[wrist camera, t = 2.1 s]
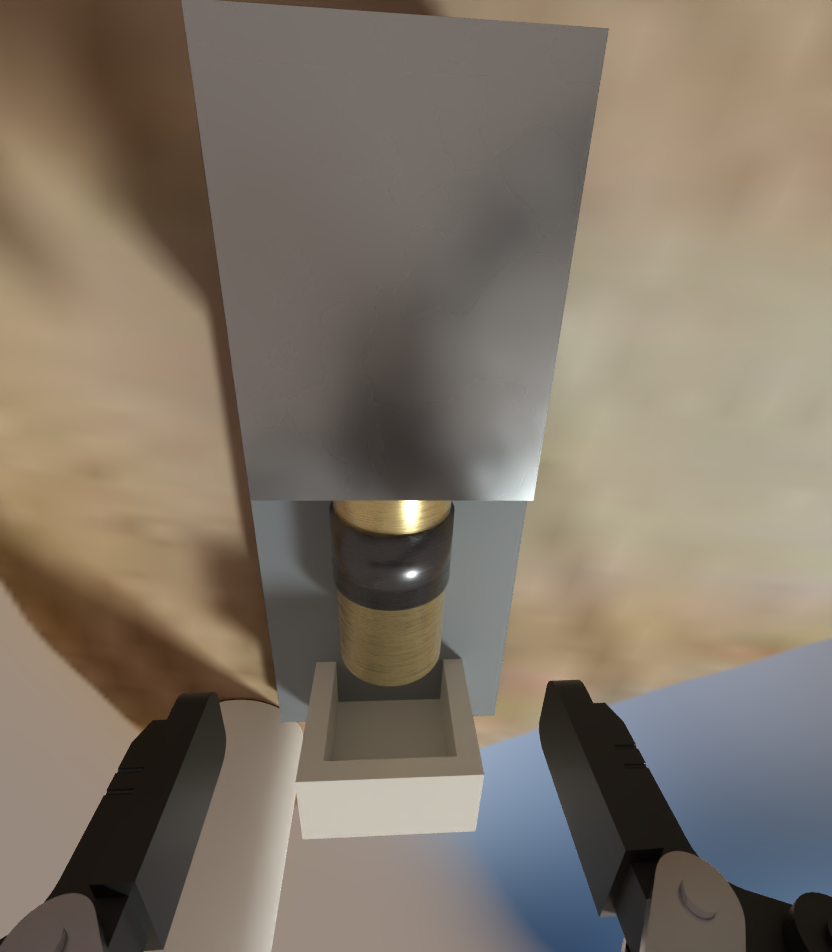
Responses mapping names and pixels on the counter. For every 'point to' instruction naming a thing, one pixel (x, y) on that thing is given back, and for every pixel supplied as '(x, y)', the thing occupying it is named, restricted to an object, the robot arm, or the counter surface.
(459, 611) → the board
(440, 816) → the socket
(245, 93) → the sleeve
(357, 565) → the tube
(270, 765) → the cylindrical container
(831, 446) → the counter surface
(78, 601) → the counter surface
